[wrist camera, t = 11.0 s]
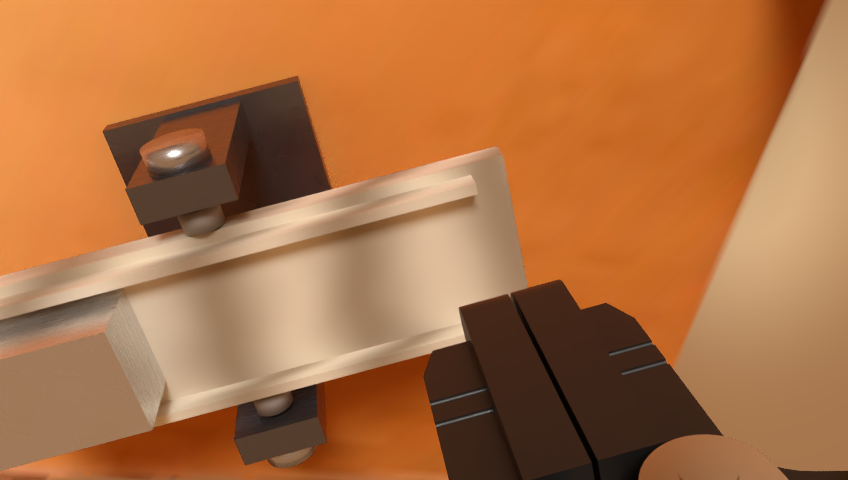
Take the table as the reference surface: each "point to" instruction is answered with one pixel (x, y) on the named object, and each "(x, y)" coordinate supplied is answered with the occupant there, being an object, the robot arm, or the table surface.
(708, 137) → the table surface
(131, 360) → the rider
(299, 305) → the beam
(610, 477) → the robot arm
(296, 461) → the stand
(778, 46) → the table surface
